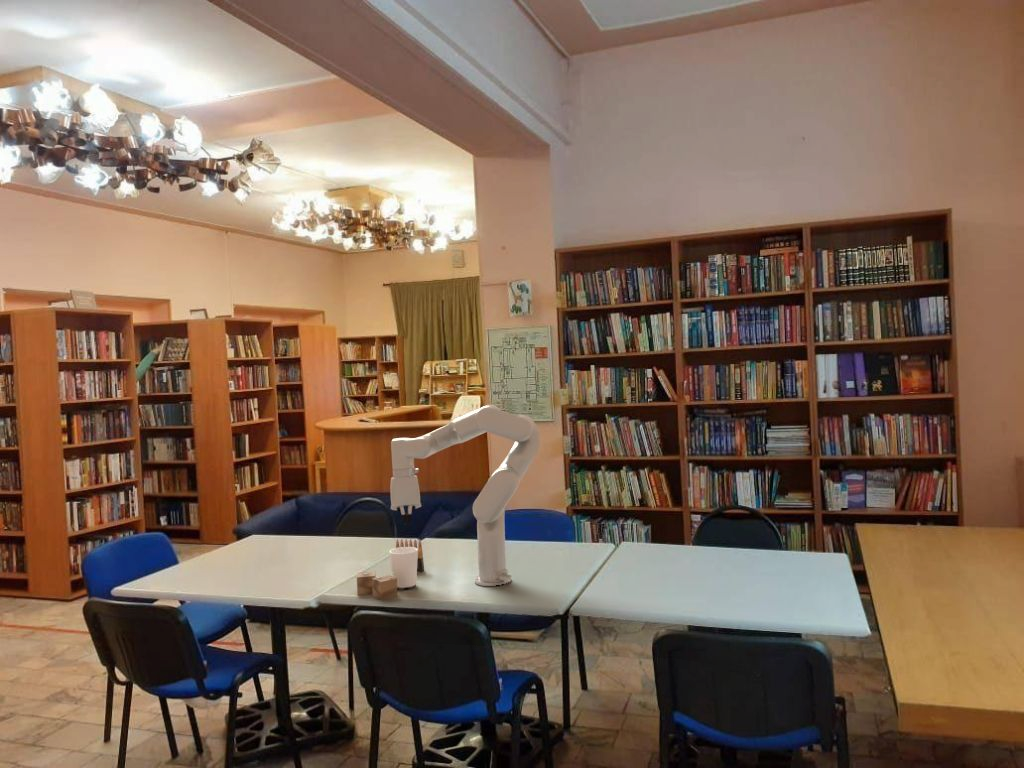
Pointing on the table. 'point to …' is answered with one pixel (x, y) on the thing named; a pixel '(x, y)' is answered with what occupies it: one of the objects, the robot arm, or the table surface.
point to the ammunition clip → (420, 555)
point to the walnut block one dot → (365, 582)
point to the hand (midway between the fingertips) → (407, 525)
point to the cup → (404, 566)
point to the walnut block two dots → (384, 587)
